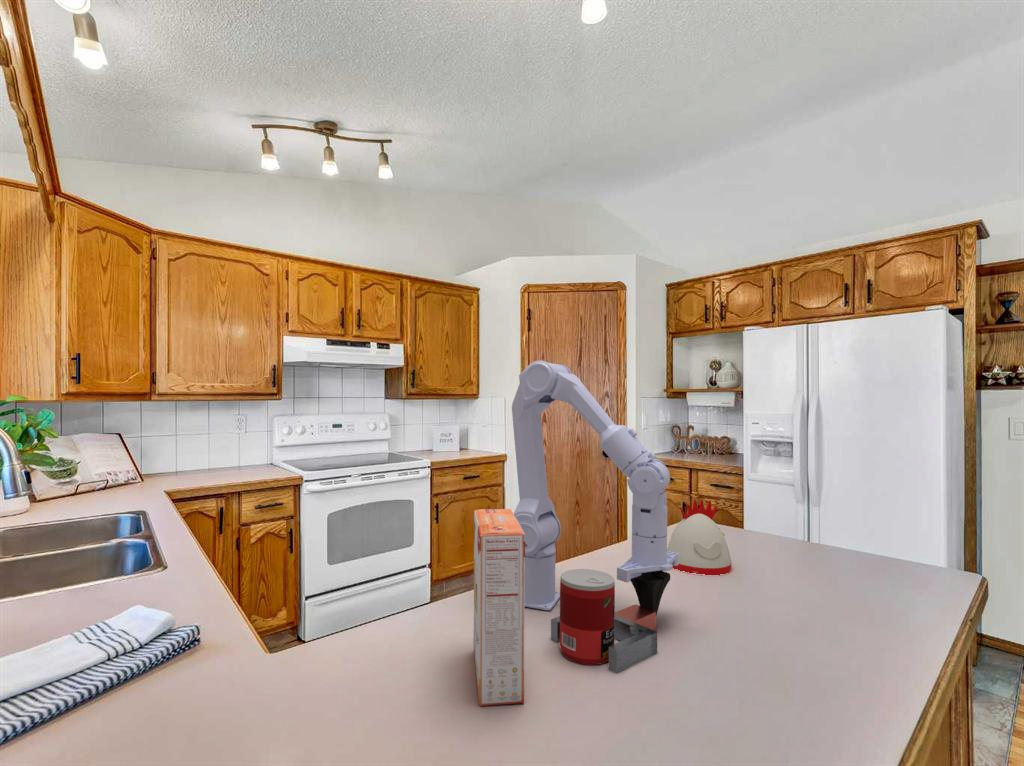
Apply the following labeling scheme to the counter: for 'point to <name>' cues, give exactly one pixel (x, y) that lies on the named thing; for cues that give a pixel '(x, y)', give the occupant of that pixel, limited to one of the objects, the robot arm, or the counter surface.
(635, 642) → the clamp
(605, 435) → the robot arm
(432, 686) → the counter surface
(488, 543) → the cracker box
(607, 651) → the canned food
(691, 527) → the kitchen timer
